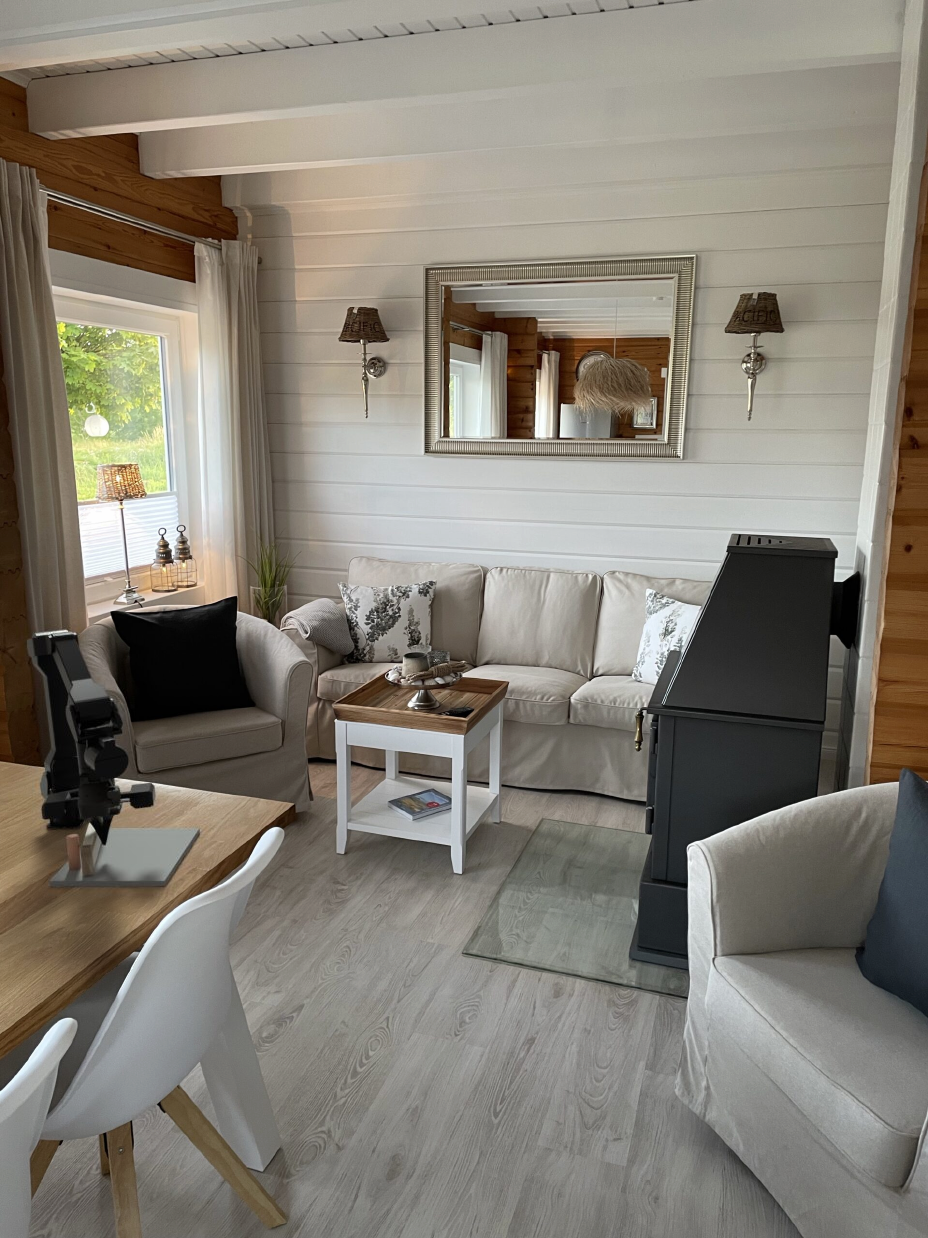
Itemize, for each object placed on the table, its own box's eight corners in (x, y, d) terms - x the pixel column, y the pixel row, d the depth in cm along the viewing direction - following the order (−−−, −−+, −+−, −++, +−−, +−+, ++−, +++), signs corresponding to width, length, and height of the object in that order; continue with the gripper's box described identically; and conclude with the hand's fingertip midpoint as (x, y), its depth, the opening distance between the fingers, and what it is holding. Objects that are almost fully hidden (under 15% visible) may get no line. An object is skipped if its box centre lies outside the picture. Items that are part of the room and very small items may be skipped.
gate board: (49, 886, 158) (46, 846, 156) (98, 833, 179) (95, 797, 178) (164, 886, 158) (162, 846, 157) (199, 833, 180) (197, 797, 178)
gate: (92, 841, 173) (90, 816, 172) (102, 840, 173) (100, 815, 172) (82, 876, 159) (80, 849, 158) (92, 874, 159) (90, 848, 158)
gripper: (30, 785, 153) (41, 871, 156) (146, 772, 157) (155, 856, 160) (43, 764, 164) (53, 844, 167) (151, 752, 168) (159, 831, 171)
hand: (104, 844), depth 166 cm, fingers closed
